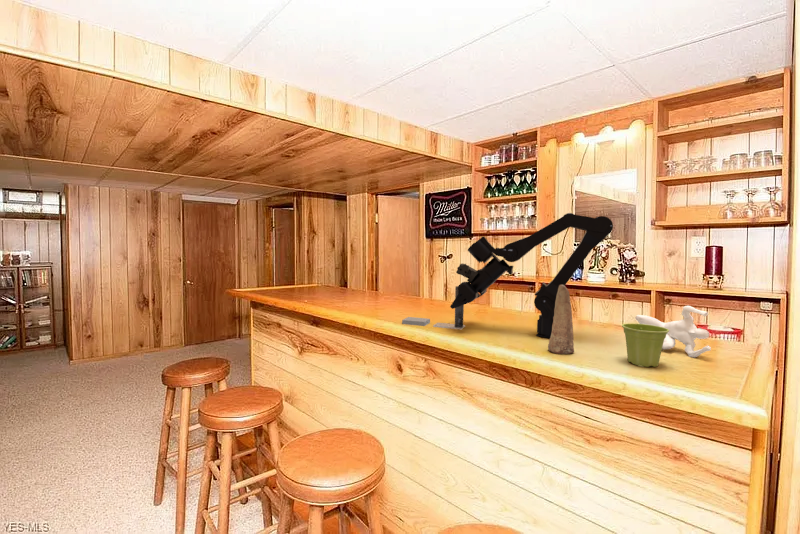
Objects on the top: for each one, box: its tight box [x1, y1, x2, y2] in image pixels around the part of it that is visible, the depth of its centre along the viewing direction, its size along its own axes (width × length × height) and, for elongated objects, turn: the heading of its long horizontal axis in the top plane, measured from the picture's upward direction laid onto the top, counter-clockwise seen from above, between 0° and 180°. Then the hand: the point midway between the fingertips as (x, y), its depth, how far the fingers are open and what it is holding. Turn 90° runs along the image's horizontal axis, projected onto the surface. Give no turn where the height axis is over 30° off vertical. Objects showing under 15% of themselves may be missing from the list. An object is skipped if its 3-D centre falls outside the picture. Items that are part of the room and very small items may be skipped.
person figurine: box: [634, 305, 712, 358], centre depth 106 cm, size 13×13×18 cm
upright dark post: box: [432, 285, 466, 331], centre depth 131 cm, size 10×5×14 cm, turn 67°
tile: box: [401, 316, 431, 327], centre depth 136 cm, size 2×6×8 cm
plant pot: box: [621, 323, 669, 368], centre depth 93 cm, size 9×9×9 cm
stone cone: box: [547, 285, 575, 355], centre depth 101 cm, size 6×18×6 cm
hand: (454, 305), depth 130 cm, fingers open, 8 cm apart
